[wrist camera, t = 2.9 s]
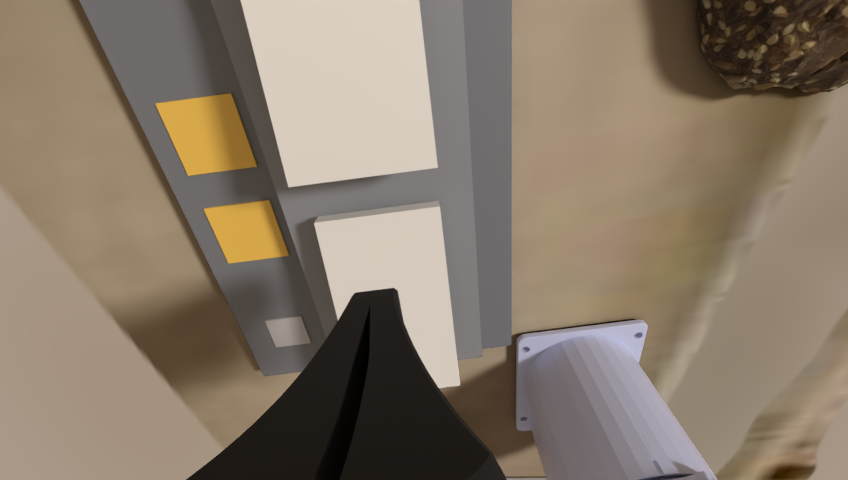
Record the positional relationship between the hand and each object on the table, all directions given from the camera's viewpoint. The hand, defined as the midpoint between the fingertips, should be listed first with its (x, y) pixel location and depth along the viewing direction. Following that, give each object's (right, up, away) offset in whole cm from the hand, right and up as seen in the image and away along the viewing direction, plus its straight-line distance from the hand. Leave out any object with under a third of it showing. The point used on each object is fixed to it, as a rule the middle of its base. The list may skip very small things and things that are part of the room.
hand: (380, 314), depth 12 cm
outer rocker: (-1, +9, 0) cm, 9 cm away
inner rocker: (0, -1, +5) cm, 5 cm away
